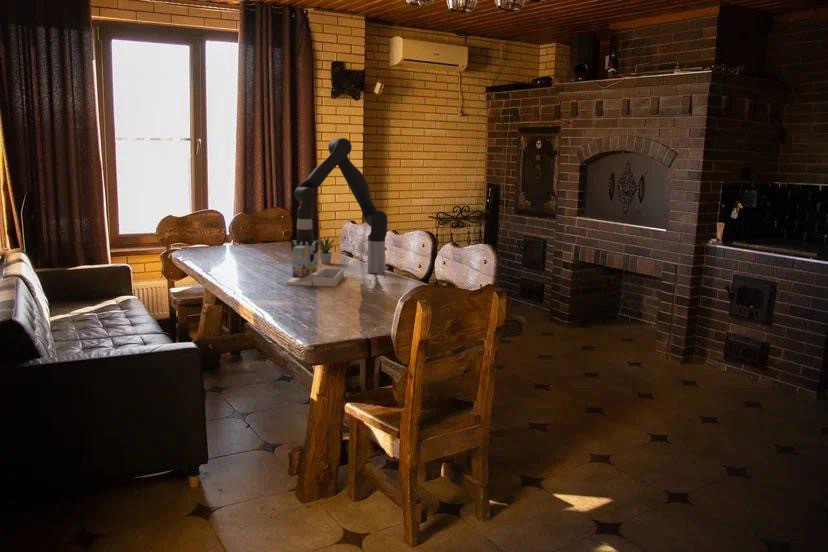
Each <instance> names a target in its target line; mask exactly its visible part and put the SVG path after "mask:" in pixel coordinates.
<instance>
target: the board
mask: <svg viewBox="0 0 828 552" xmlns="http://www.w3.org/2000/svg"><path fill="white" fill-rule="evenodd" d="M317 273H318V272H314V273H312V274H310V275H308V276H306V277H304V278H293V276H291V278H290V279H288V280H287V281H286V286H313V277H314V276H315V275H316V274H317Z"/></svg>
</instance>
